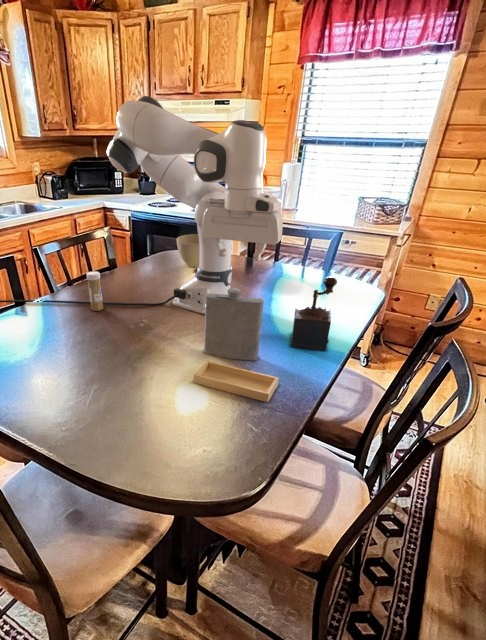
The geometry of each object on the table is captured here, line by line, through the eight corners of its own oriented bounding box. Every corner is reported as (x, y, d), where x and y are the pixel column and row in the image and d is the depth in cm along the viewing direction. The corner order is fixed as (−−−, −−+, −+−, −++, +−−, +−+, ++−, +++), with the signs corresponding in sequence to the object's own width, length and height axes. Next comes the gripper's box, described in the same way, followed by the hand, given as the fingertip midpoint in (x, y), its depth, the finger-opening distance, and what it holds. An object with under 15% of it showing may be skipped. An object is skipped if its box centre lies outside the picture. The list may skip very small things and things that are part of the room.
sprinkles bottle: (102, 311, 151) (97, 275, 143) (89, 311, 151) (84, 274, 144) (104, 306, 154) (100, 271, 147) (92, 306, 155) (88, 270, 148)
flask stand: (193, 382, 109) (193, 374, 108) (207, 367, 115) (207, 360, 114) (267, 402, 101) (268, 394, 99) (277, 385, 107) (278, 377, 106)
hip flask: (258, 356, 121) (265, 289, 110) (256, 362, 117) (263, 295, 107) (205, 348, 125) (207, 284, 114) (202, 354, 122) (203, 288, 111)
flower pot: (174, 270, 191) (173, 243, 185) (180, 259, 206) (179, 233, 200) (213, 271, 188) (213, 244, 182) (216, 260, 203) (217, 234, 197)
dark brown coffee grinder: (328, 351, 122) (340, 293, 113) (289, 347, 125) (298, 289, 115) (327, 329, 135) (338, 275, 125) (292, 326, 138) (300, 272, 128)
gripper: (198, 199, 101) (197, 256, 109) (280, 205, 93) (273, 266, 100) (208, 196, 106) (207, 250, 113) (288, 200, 98) (280, 259, 105)
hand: (239, 258), depth 107 cm, fingers open, 8 cm apart
